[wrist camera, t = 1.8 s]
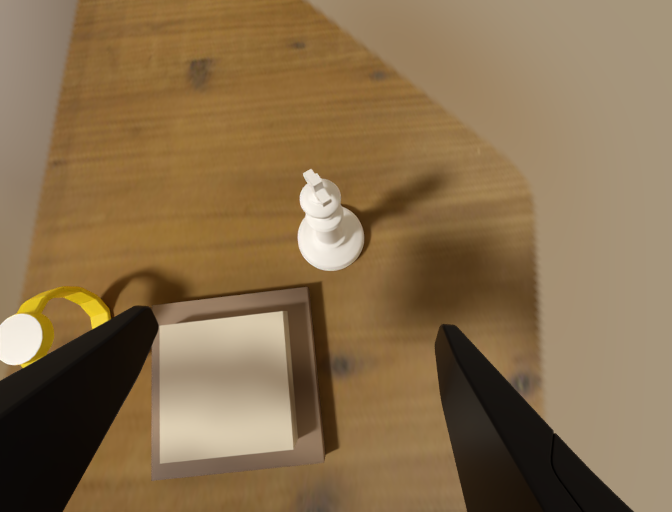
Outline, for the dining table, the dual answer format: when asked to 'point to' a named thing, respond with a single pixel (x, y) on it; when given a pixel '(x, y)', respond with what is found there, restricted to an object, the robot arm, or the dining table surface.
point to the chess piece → (327, 226)
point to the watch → (43, 324)
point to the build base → (302, 382)
